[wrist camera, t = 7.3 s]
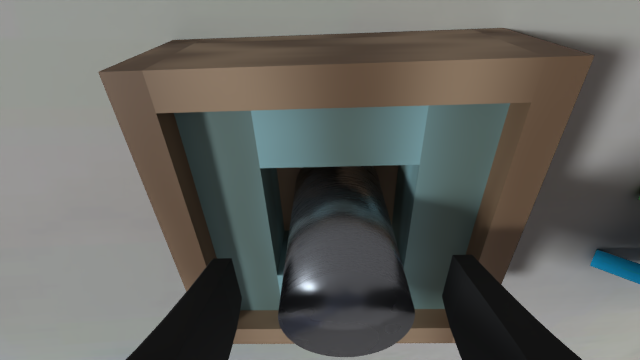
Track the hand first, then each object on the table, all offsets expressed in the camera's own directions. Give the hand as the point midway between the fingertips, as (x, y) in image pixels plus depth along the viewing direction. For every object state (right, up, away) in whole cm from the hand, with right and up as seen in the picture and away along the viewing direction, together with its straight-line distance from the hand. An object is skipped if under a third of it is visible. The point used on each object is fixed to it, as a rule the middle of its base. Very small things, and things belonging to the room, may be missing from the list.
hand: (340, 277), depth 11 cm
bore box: (0, +4, +5) cm, 7 cm away
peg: (0, +3, +5) cm, 6 cm away
